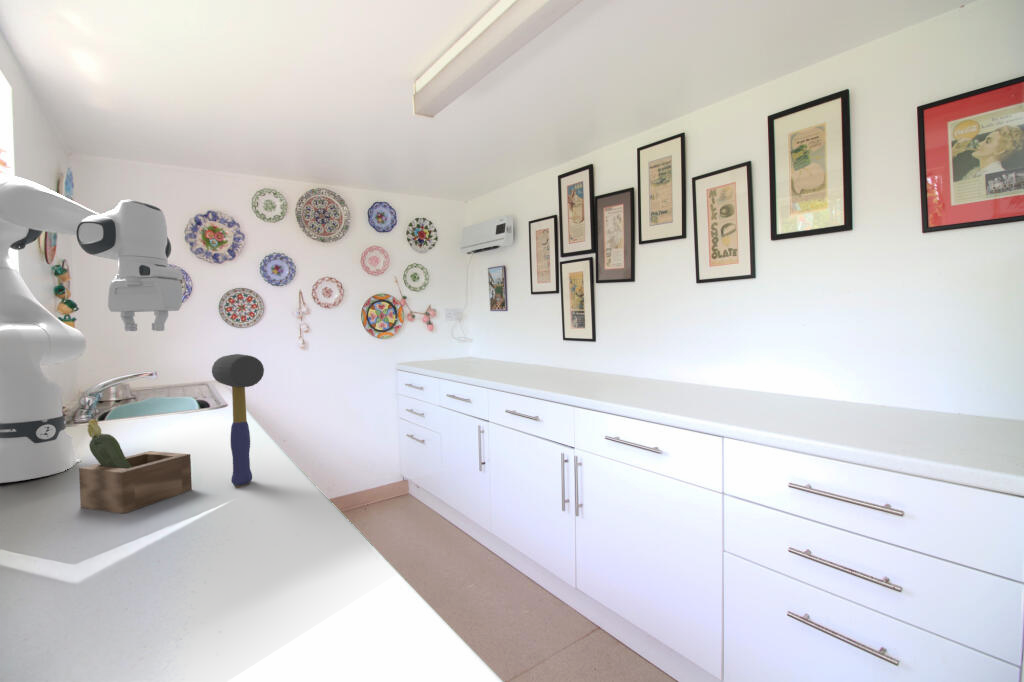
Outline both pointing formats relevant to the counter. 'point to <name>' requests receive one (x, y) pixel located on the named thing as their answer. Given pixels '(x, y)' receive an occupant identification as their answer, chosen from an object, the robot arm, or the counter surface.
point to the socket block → (135, 482)
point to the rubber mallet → (239, 407)
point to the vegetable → (106, 448)
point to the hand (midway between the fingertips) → (144, 331)
